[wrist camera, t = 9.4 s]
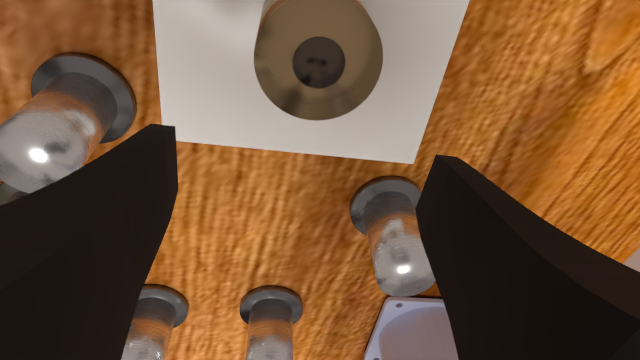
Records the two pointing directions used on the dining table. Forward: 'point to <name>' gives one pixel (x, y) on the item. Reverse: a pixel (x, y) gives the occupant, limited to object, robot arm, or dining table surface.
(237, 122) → the ceramic tile
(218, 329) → the dining table surface
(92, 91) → the spacer field
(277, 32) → the brown metallic cylinder
